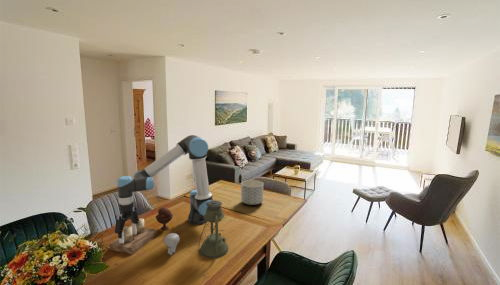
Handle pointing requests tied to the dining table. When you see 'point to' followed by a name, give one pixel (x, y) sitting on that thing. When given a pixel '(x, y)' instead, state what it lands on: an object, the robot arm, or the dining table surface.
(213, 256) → the lantern
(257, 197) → the planter
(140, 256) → the dining table surface
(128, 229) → the peg
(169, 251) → the grey light bulb
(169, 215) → the ice cream bowl
